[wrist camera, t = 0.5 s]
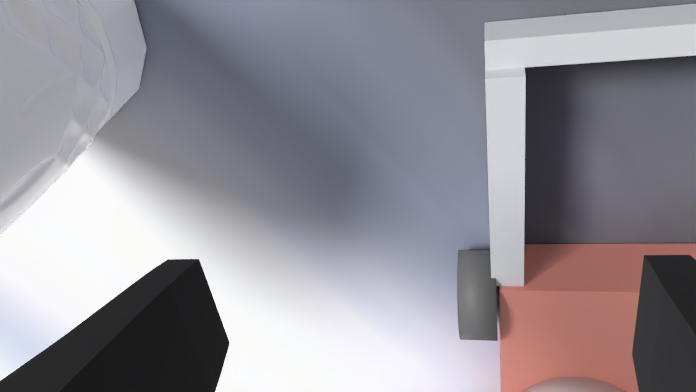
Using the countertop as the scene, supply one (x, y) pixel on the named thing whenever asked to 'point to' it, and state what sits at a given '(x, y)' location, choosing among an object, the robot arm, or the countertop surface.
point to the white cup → (59, 87)
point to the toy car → (558, 259)
